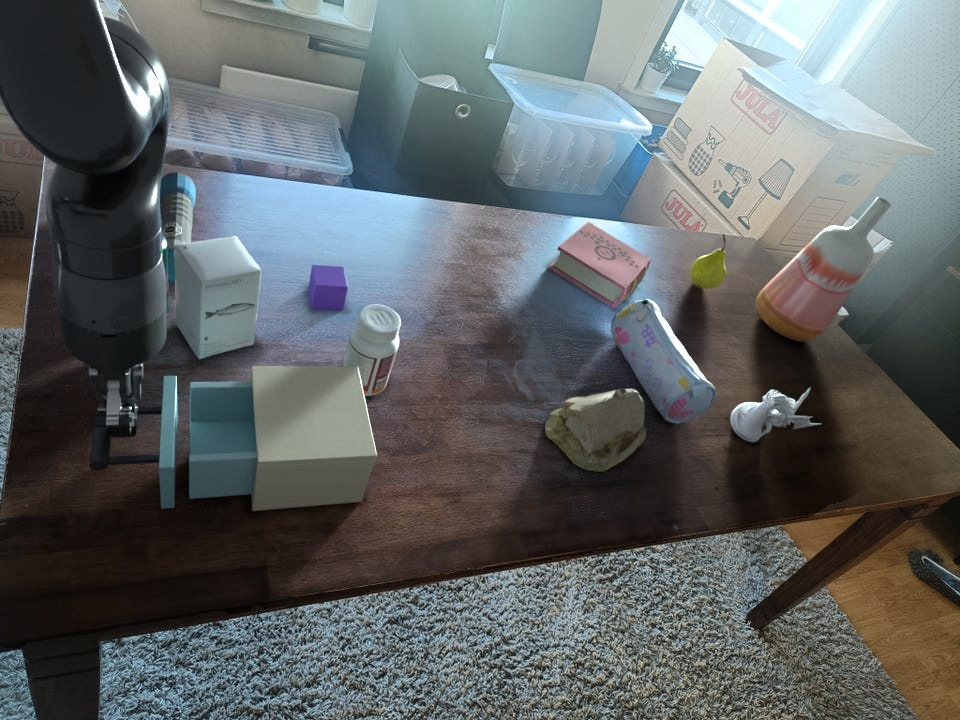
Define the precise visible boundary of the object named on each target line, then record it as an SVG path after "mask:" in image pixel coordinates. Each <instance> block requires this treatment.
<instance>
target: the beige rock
mask: <svg viewBox="0 0 960 720" xmlns="http://www.w3.org/2000/svg"><path fill="white" fill-rule="evenodd" d="M644 423H645V402H644V399H643V397H642V396H641V395H640V392H639V391H638V390H636V389H635V388H624V387H622V388H620V389H614V390H610V391H609V390H608V391H604V392H598V393H595V394H591V395H586V396H576V395H575V396H571V397H569V398H567V399H566V400H565V401H563V403H562V407H560V408H557V409H554V410H552V411H551V412H550V413H549V414H548V417H547V420H546V422H545V425H544V431H545V435H546V437H547V438H548V439H549V440H550V441H551V442H552V443H554V444H555V445H556V446H557V447H558V448H559V449H560V450H561V451H562V452H563V453H564V454H565V456H567V458H568V459H569V460H570V461H571V462H572V463H573V464H574V465H575V466H577V467H579V468H580V469H583V470H586V471H590V472H591V471H592V472H599V473H600V472H602V473H603V472H607V471H608V470H609V469H611V468H613V467H615V466H616V465H618V464H620V463H622V462H623V461H625V460H626V459H628V457H630V456H631V455H632V454H633V453H634V452H636V450H637V449H638V448H639V447H640V446H642V444H643V443H644V441H645V439H646V437H647V431H646V429H645V428H644Z"/></svg>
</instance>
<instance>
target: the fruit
mask: <svg viewBox="0 0 960 720" xmlns="http://www.w3.org/2000/svg"><path fill="white" fill-rule="evenodd" d="M722 236H723V247H722V248H717V249H715V250H714V251H712V252H711V253H709V254H704V255H701V256H699V257H698V258H696V259H695V261H693V263H692V266H691V268H690V271H689V277H690V281H691V282H692V284H693V285H694V286H695V287H696V288H698V289H702V290H708V289H713V288H718V287H720V286H721V285H722V283H723V282H724V281H725V278H726V276H727V268H726V266H725V260H726V251H725V248H726V247H725V246H726V235H725V233H722Z"/></svg>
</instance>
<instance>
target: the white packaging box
mask: <svg viewBox="0 0 960 720" xmlns="http://www.w3.org/2000/svg"><path fill="white" fill-rule="evenodd" d="M261 278H262V269H261V267H260V266H259V265H258V263H257V262H256V260H254V258H253V257H252V255H251V254H250V253H249V252H248V251H247V249H246V248H245V246H244V245H243V244H242V242H241V240H240V239H239V238H238V236H237V235H230V236H225V237H218V238H217V237H216V238H210V239H203V240H198V241H191V243H184V244H176V245H175V285H174V293H175V294H174V306H175V309H174V310H175V311H174V312H175V313H174V314H175V317H174V318H175V324H176V326H177V328H178V329H179V331H180V333H181V334H182V335H183V337H184V339H185V340H186V342H187V344H188V345H189V347H190V348H191V350H192V352H193V353H194V355H195V356H196V358H197V359H198V360H201V359H205V358H207V357H211V356H215V355H218V354H223V353H225V352H230V351H233V350H237V349H241V348H242V349H243V348H245V347H251V346H253V345H255V338H256V337H255V336H256V327H257V316H258V308H259V307H258V306H259V297H260V288H261V280H262V279H261Z"/></svg>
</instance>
